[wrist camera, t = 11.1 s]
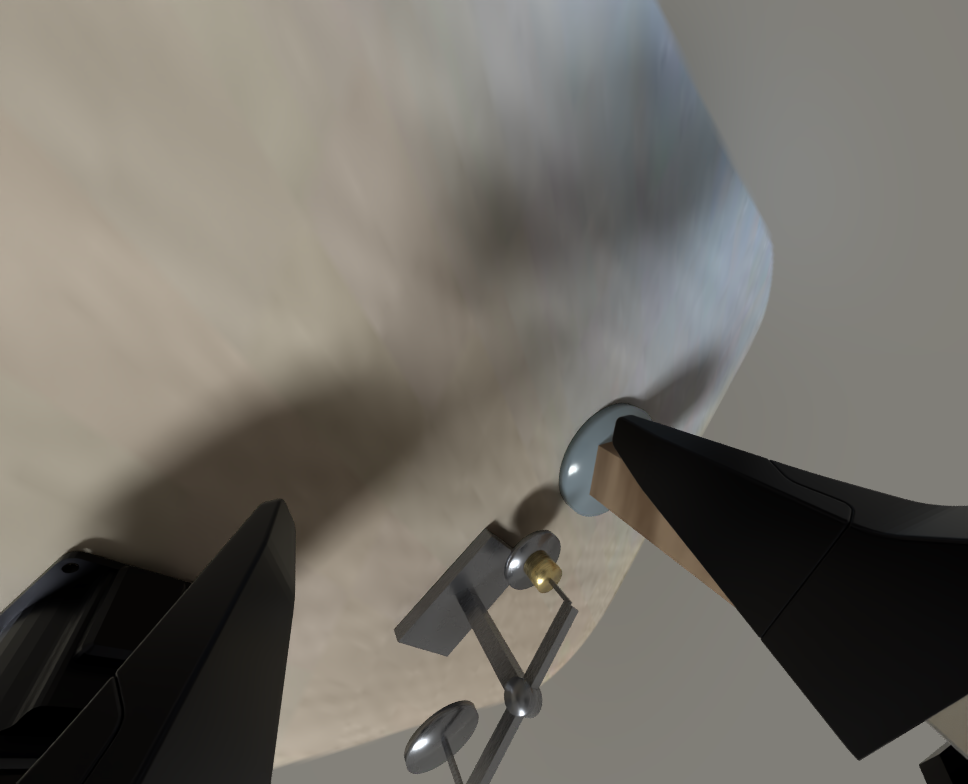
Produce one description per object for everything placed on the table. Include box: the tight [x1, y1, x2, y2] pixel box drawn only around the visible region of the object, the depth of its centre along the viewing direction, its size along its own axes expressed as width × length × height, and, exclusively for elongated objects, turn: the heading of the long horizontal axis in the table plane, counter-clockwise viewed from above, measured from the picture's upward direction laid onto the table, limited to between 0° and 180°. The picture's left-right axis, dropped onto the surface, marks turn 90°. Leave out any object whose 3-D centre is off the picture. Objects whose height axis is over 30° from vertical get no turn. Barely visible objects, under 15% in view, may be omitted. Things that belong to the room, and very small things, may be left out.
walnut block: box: [589, 442, 735, 607], centre depth 26 cm, size 5×5×13 cm
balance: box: [394, 528, 578, 784], centre depth 24 cm, size 17×6×10 cm, turn 128°
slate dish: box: [559, 403, 652, 516], centre depth 32 cm, size 11×11×1 cm
